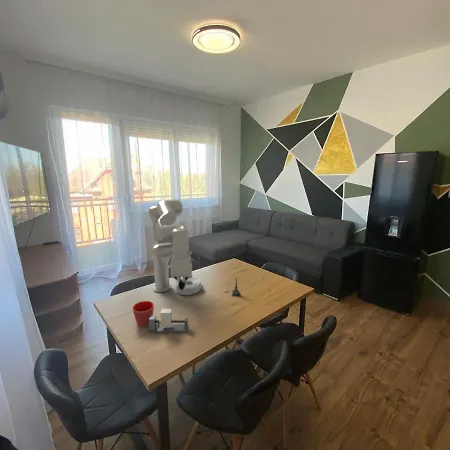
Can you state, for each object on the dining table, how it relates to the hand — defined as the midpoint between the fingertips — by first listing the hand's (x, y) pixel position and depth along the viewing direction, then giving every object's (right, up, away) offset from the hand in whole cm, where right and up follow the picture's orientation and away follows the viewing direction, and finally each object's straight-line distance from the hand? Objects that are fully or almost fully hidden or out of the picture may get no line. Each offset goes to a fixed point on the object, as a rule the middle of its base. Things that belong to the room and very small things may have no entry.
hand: (181, 288), depth 122 cm
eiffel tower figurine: (+29, -15, +41) cm, 52 cm away
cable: (-3, -13, +47) cm, 49 cm away
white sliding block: (-8, -19, +4) cm, 21 cm away
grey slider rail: (-7, -22, +4) cm, 23 cm away
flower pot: (-22, -21, +10) cm, 32 cm away
